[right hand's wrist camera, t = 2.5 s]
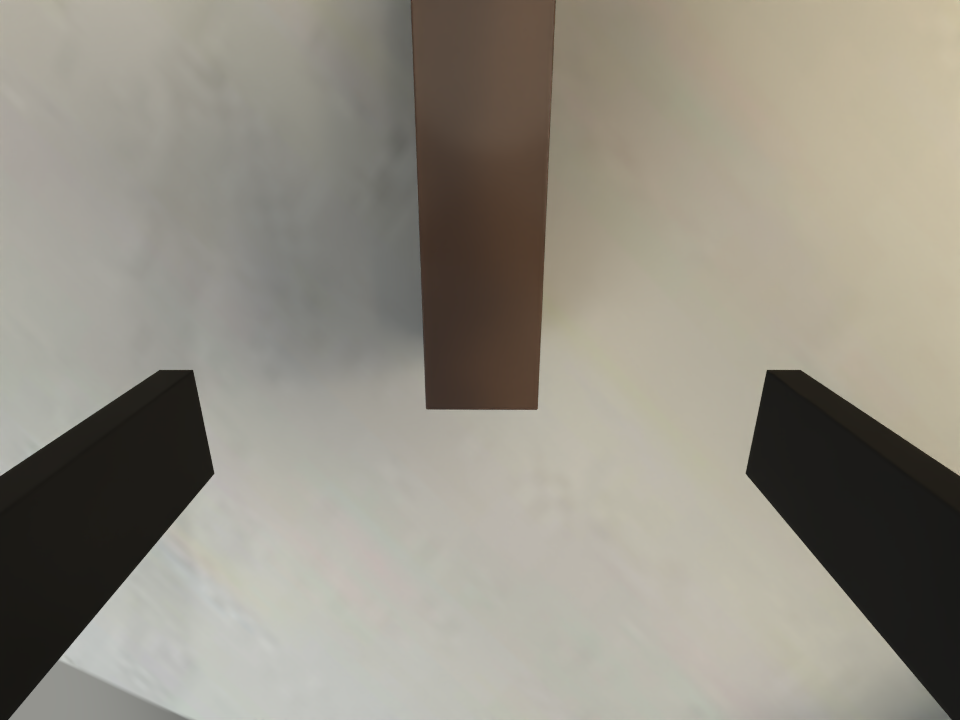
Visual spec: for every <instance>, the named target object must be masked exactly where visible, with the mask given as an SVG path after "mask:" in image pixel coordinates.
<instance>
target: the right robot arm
mask: <svg viewBox="0 0 960 720" xmlns="http://www.w3.org/2000/svg"><path fill="white" fill-rule="evenodd" d="M213 475H214V470H213V465H212V460H211V455H210V450H209V445H208V440H207V435H206V431H205V426H204V421H203V416H202V411H201V406H200V401H199V397H198V392H197V387H196V382H195V377H194V372H193V370H159V371H157V372H156V373H154V374H153V375H151V376H150V377H148V378H147V379H145V380H144V381H142V382H141V383H139V384H138V385H136V386H135V387H133V388H132V389H130V390H129V391H127V392H126V393H124V394H123V395H121V396H120V397H118V398H117V399H115V400H114V401H112V402H111V403H109V404H108V405H106V406H105V407H103V408H102V409H100V410H99V411H97V412H96V413H94V414H93V415H91V416H90V417H88V418H87V419H85V420H84V421H82V422H81V423H79V424H78V425H76V426H75V427H73V428H72V429H70V430H69V431H67V432H66V433H64V434H63V435H61V436H60V437H58V438H57V439H55V440H54V441H52V442H51V443H49V444H48V445H46V446H45V447H43V448H42V449H40V450H39V451H37V452H36V453H34V454H33V455H31V456H30V457H28V458H27V459H25V460H24V461H22V462H21V463H19V464H18V465H16V466H15V467H13V468H12V469H10V470H9V471H7V472H6V473H4V474H3V475H1V476H0V720H8V719H9V718H10V717H11V716H12V714H13V713H14V712H15V711H16V710H17V709H18V707H19V706H20V705H21V704H22V703H23V701H24V700H25V699H26V698H27V697H28V695H29V694H30V693H31V692H32V691H33V689H34V688H35V687H36V686H37V685H38V683H39V682H40V681H41V680H42V679H43V678H44V676H45V675H46V674H47V673H48V672H49V670H50V669H51V668H52V667H53V666H54V664H55V663H56V662H57V661H58V660H59V658H60V657H61V656H62V655H63V654H64V652H65V651H66V650H67V649H68V648H69V646H70V645H71V644H72V643H73V642H74V641H75V639H76V638H77V637H78V636H79V635H80V633H81V632H82V631H83V630H84V629H85V627H86V626H87V625H88V624H89V623H90V621H91V620H92V619H93V618H94V617H95V615H96V614H97V613H98V612H99V611H100V609H101V608H102V607H103V606H104V605H105V604H106V602H107V601H108V600H109V599H110V598H111V596H112V595H113V594H114V593H115V592H116V590H117V589H118V588H119V587H120V586H121V584H122V583H123V582H124V581H125V580H126V578H127V577H128V576H129V575H130V574H131V572H132V571H133V570H134V569H135V568H136V567H137V565H138V564H139V563H140V562H141V561H142V559H143V558H144V557H145V556H146V555H147V553H148V552H149V551H150V550H151V549H152V547H153V546H154V545H155V544H156V543H157V541H158V540H159V539H160V538H161V537H162V535H163V534H164V533H165V532H166V531H167V530H168V528H169V527H170V526H171V525H172V524H173V522H174V521H175V520H176V519H177V518H178V516H179V515H180V514H181V513H182V512H183V510H184V509H185V508H186V507H187V506H188V504H189V503H190V502H191V501H192V500H193V498H194V497H195V496H196V495H197V494H198V493H199V491H200V490H201V489H202V488H203V487H204V485H205V484H206V483H207V482H208V481H209V479H210V478H211V477H212V476H213ZM746 475H747V476H748V477H749V478H750V479H751V481H752V482H753V483H754V484H755V485H756V487H757V488H758V489H759V490H760V491H761V493H762V494H763V495H764V496H765V497H766V498H767V500H768V501H769V502H770V503H771V504H772V506H773V507H774V508H775V509H776V510H777V512H778V513H779V514H780V515H781V516H782V518H783V519H784V520H785V521H786V522H787V524H788V525H789V526H790V527H791V528H792V530H793V531H794V532H795V533H796V534H797V535H798V537H799V538H800V539H801V540H802V541H803V543H804V544H805V545H806V546H807V547H808V549H809V550H810V551H811V552H812V553H813V555H814V556H815V557H816V558H817V559H818V561H819V562H820V563H821V564H822V565H823V567H824V568H825V569H826V570H827V571H828V572H829V574H830V575H831V576H832V577H833V578H834V580H835V581H836V582H837V583H838V584H839V586H840V587H841V588H842V589H843V590H844V592H845V593H846V594H847V595H848V596H849V598H850V599H851V600H852V601H853V602H854V604H855V605H856V606H857V607H858V608H859V609H860V611H861V612H862V613H863V614H864V615H865V617H866V618H867V619H868V620H869V621H870V623H871V624H872V625H873V626H874V627H875V629H876V630H877V631H878V632H879V633H880V635H881V636H882V637H883V638H884V639H885V641H886V642H887V643H888V644H889V645H890V646H891V648H892V649H893V650H894V651H895V652H896V654H897V655H898V656H899V657H900V658H901V660H902V661H903V662H904V663H905V664H906V666H907V667H908V668H909V669H910V670H911V672H912V673H913V674H914V675H915V676H916V678H917V679H918V680H919V681H920V682H921V683H922V685H923V686H924V687H925V688H926V689H927V691H928V692H929V693H930V694H931V695H932V697H933V698H934V699H935V700H936V701H937V703H938V704H939V705H940V706H941V707H942V709H943V710H944V711H945V712H946V713H947V715H948V716H949V717H950V718H951V719H952V720H960V476H959V475H957V474H956V473H954V472H953V471H951V470H950V469H948V468H947V467H945V466H944V465H942V464H941V463H939V462H938V461H936V460H935V459H933V458H932V457H930V456H929V455H927V454H926V453H924V452H923V451H921V450H920V449H918V448H917V447H915V446H914V445H912V444H911V443H909V442H908V441H906V440H905V439H903V438H902V437H900V436H899V435H897V434H896V433H894V432H893V431H891V430H890V429H888V428H887V427H885V426H884V425H882V424H881V423H879V422H878V421H876V420H875V419H873V418H872V417H870V416H869V415H867V414H866V413H864V412H863V411H861V410H860V409H858V408H857V407H855V406H854V405H852V404H851V403H849V402H848V401H846V400H845V399H843V398H842V397H840V396H839V395H837V394H836V393H834V392H833V391H831V390H830V389H828V388H827V387H825V386H824V385H822V384H821V383H819V382H818V381H816V380H815V379H813V378H812V377H810V376H809V375H807V374H806V373H804V372H803V371H801V370H767V372H766V377H765V382H764V387H763V392H762V397H761V401H760V406H759V411H758V416H757V421H756V426H755V431H754V435H753V440H752V445H751V450H750V455H749V460H748V465H747V470H746Z"/></svg>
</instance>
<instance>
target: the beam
mask: <svg viewBox="0 0 960 720" xmlns="http://www.w3.org/2000/svg"><path fill="white" fill-rule="evenodd" d="M555 4H556V0H411V18H412V45H413V71H414V98H415V125H416V152H417V179H418V206H419V232H420V259H421V286H422V313H423V340H424V367H425V393H426V409H473V410H537V409H538V387H539V365H540V342H541V320H542V297H543V275H544V252H545V229H546V207H547V184H548V162H549V139H550V117H551V94H552V71H553V49H554V26H555Z"/></svg>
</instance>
